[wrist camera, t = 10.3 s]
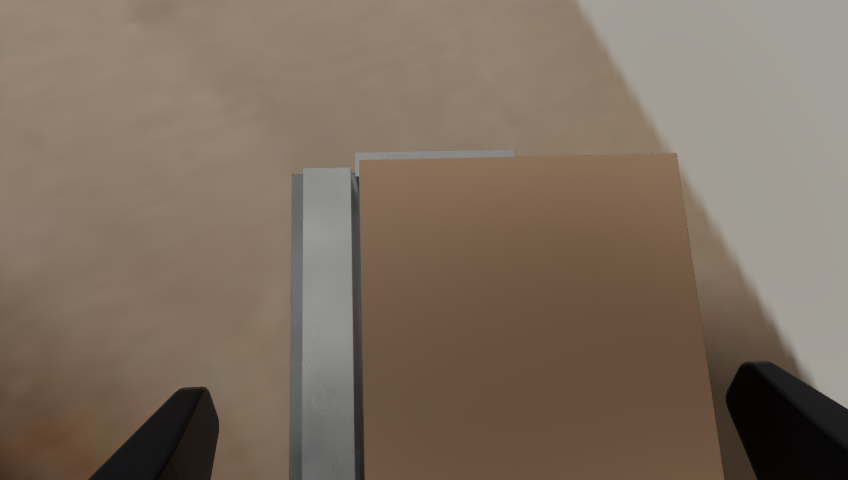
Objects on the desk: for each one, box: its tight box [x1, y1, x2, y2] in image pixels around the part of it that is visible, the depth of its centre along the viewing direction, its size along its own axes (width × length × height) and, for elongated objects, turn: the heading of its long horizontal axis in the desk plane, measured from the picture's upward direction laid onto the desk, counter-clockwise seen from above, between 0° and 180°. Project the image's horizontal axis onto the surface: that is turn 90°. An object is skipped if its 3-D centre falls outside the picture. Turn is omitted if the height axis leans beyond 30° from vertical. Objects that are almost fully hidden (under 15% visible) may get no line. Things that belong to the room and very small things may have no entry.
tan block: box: [359, 153, 724, 480], centre depth 11 cm, size 6×4×12 cm, turn 2°
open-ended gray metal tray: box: [289, 150, 514, 480], centre depth 17 cm, size 14×10×3 cm
